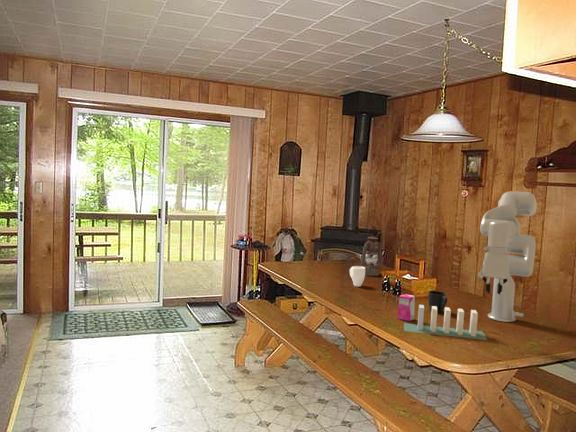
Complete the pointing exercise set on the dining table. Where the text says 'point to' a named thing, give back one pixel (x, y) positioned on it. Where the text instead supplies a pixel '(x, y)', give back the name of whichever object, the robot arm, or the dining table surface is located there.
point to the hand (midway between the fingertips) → (493, 292)
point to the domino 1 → (420, 317)
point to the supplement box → (406, 307)
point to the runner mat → (440, 331)
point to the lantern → (372, 250)
